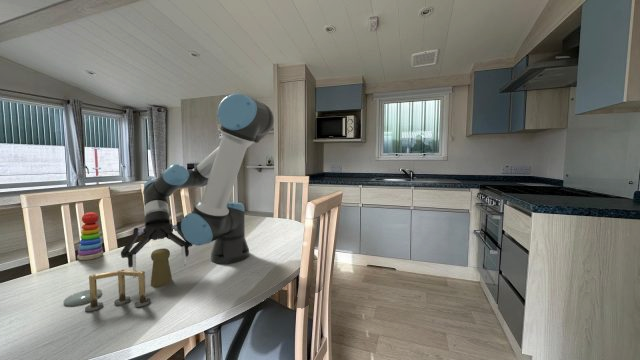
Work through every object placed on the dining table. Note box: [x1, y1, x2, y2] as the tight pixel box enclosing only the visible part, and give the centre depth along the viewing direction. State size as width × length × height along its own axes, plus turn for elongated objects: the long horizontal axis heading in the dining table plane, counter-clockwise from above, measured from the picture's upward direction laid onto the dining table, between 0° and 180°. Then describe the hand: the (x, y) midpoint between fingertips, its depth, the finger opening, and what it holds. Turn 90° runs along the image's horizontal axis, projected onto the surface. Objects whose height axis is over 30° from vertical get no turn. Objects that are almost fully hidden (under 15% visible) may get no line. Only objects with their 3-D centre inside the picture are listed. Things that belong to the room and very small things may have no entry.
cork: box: [150, 248, 173, 288], centre depth 80 cm, size 6×6×11 cm
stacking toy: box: [77, 211, 104, 261], centre depth 101 cm, size 8×8×19 cm
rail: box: [84, 269, 152, 313], centre depth 67 cm, size 15×8×9 cm, turn 121°
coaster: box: [63, 288, 103, 307], centre depth 71 cm, size 8×8×1 cm
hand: (161, 270), depth 79 cm, fingers open, 13 cm apart
